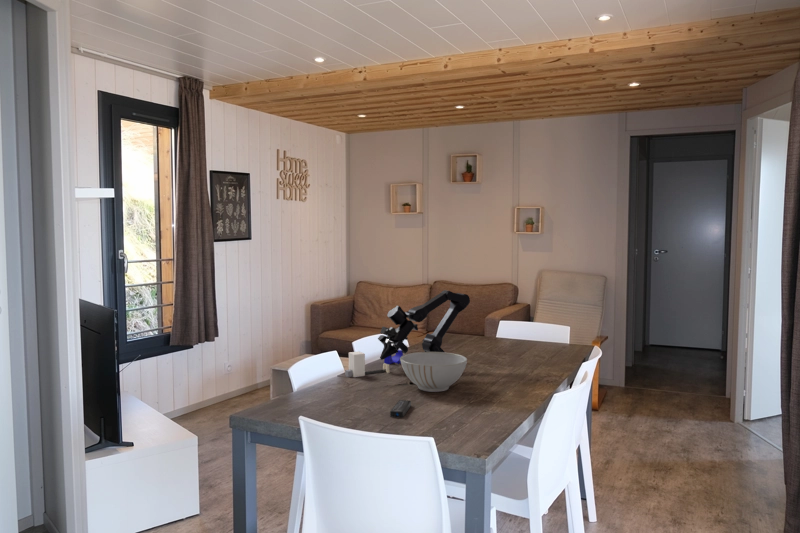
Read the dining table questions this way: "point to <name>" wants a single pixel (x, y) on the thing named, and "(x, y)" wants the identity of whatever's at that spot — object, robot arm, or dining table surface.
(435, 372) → the decorative bowl
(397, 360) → the cable clip
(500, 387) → the dining table surface
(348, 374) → the cord board
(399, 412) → the multiport hub
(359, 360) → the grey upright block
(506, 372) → the dining table surface
